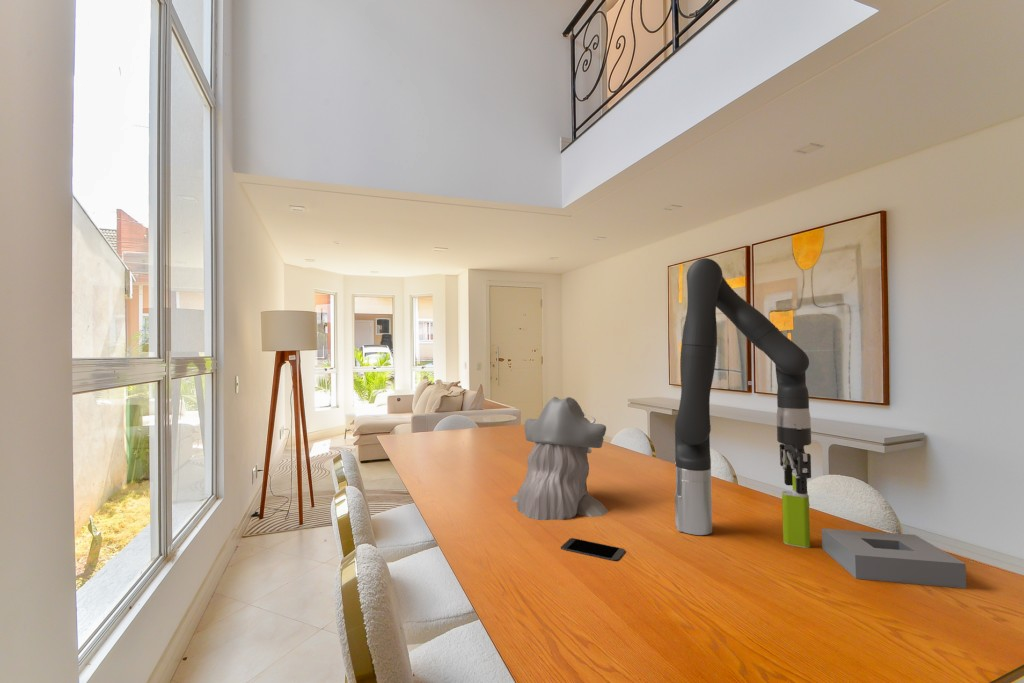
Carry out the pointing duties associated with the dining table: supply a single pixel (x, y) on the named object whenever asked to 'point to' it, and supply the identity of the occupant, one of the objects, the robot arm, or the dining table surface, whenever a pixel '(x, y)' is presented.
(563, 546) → the smartphone
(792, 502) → the vape
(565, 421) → the bust
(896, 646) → the dining table surface
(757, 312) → the robot arm
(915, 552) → the charging dock
